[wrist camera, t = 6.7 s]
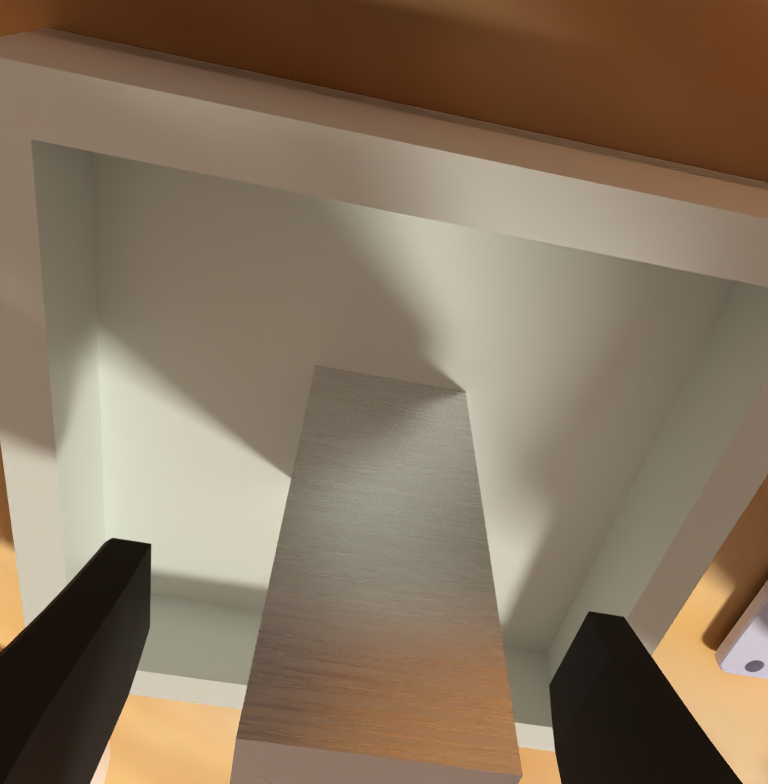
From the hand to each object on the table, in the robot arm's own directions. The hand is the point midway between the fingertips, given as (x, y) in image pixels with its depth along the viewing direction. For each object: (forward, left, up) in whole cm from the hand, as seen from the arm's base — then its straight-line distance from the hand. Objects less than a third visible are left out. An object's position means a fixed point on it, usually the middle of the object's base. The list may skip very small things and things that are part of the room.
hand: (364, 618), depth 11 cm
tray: (0, 0, -6) cm, 6 cm away
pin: (0, 0, -5) cm, 5 cm away
